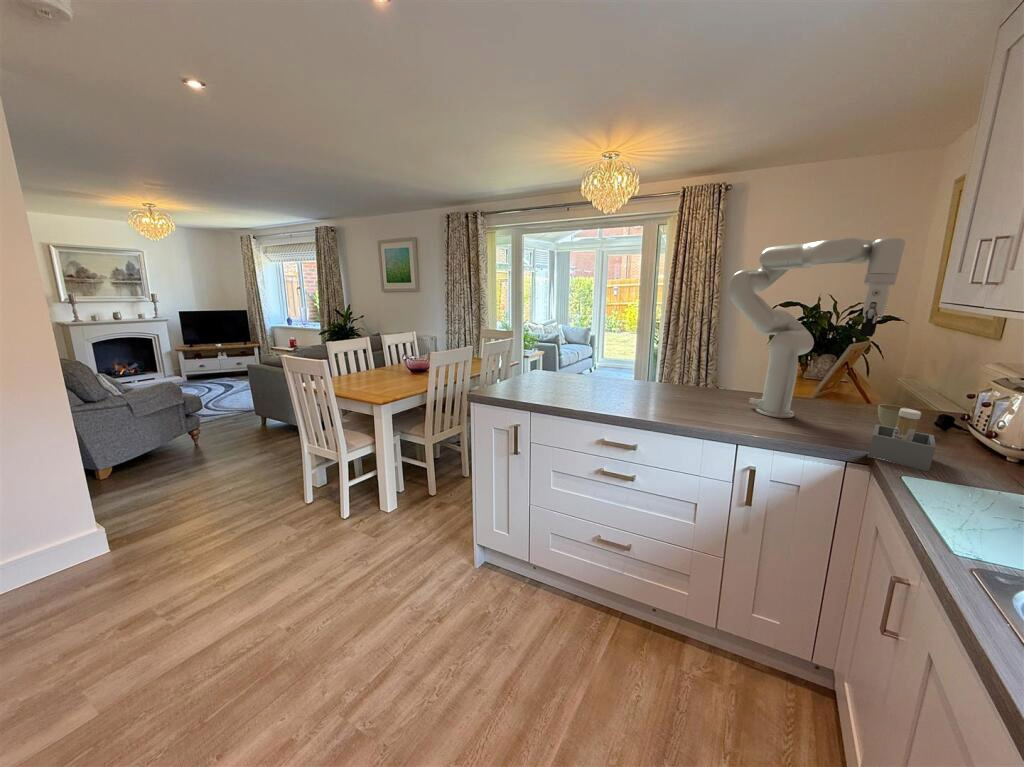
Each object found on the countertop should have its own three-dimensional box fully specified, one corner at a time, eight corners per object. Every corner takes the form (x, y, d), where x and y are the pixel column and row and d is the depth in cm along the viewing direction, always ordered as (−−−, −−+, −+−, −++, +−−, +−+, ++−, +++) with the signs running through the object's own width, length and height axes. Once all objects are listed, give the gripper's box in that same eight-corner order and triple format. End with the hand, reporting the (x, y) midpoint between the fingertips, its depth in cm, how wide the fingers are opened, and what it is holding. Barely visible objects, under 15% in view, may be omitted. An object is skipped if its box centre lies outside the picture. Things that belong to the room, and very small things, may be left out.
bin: (867, 457, 123) (873, 434, 121) (870, 445, 132) (875, 424, 130) (928, 471, 114) (935, 447, 113) (927, 457, 124) (933, 435, 122)
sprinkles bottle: (883, 450, 125) (895, 407, 122) (896, 450, 125) (909, 408, 122) (898, 457, 121) (911, 412, 117) (912, 457, 121) (926, 413, 118)
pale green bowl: (867, 424, 151) (872, 405, 150) (884, 421, 155) (888, 403, 153) (900, 434, 142) (905, 414, 141) (917, 431, 146) (923, 411, 144)
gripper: (895, 280, 122) (880, 338, 126) (896, 280, 134) (883, 334, 138) (862, 279, 127) (849, 335, 131) (866, 280, 139) (854, 331, 143)
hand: (866, 334), depth 135 cm, fingers open, 9 cm apart
